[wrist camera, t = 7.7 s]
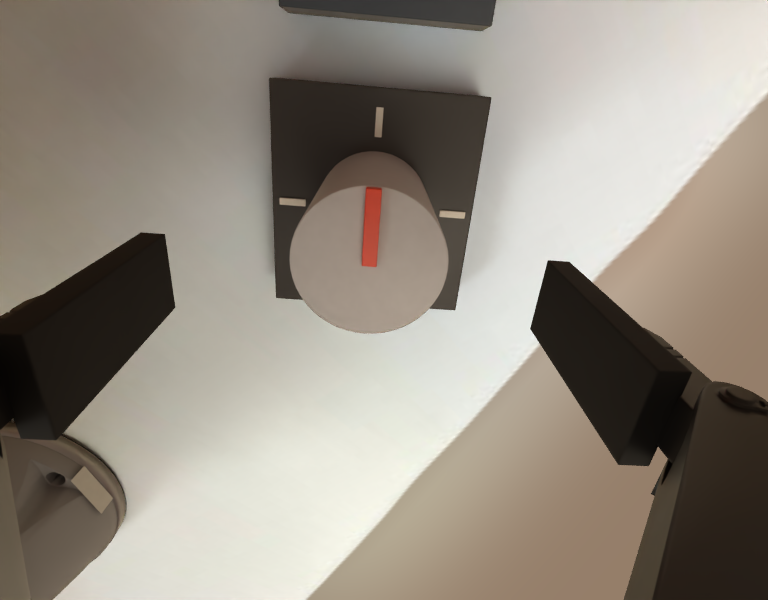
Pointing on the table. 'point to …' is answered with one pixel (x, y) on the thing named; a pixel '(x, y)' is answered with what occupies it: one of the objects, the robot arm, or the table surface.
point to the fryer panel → (382, 134)
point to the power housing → (402, 11)
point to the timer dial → (369, 246)
